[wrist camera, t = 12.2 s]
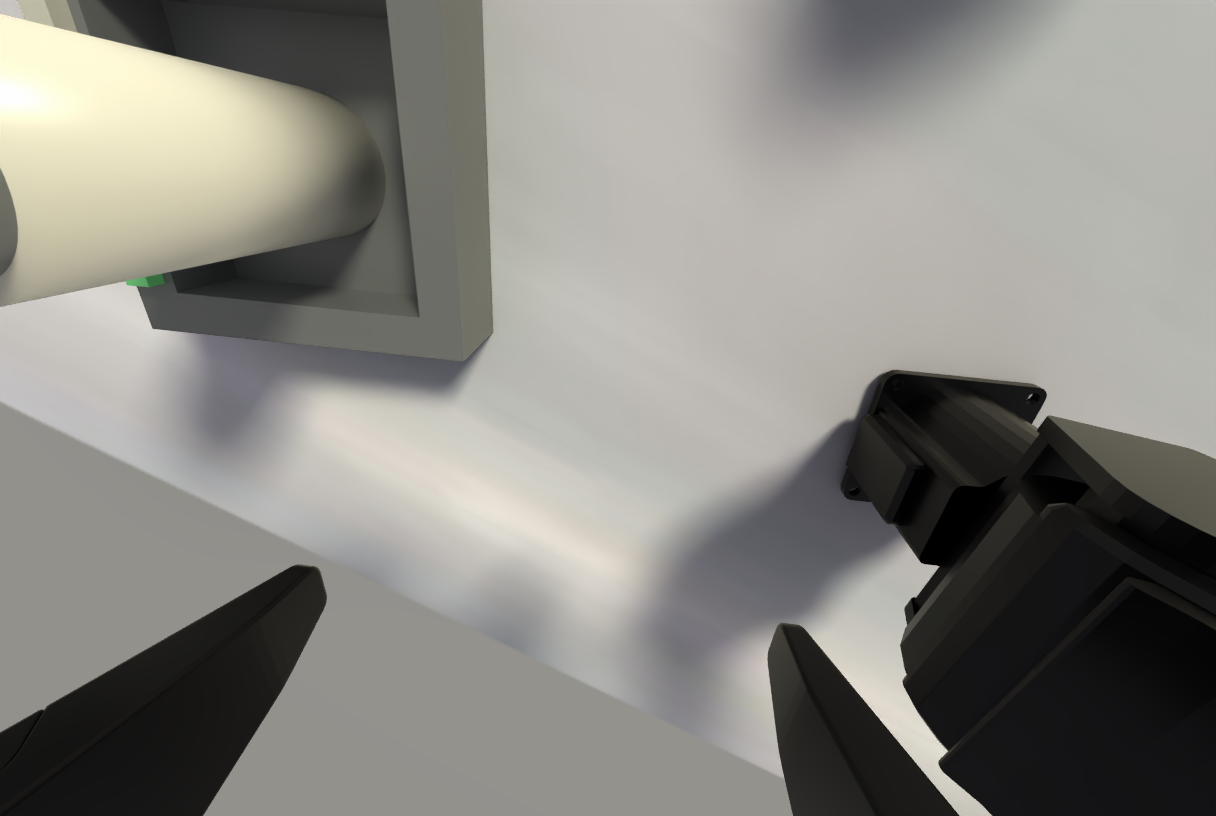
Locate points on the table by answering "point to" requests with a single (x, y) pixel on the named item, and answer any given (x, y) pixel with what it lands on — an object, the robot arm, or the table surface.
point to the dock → (409, 145)
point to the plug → (162, 163)
